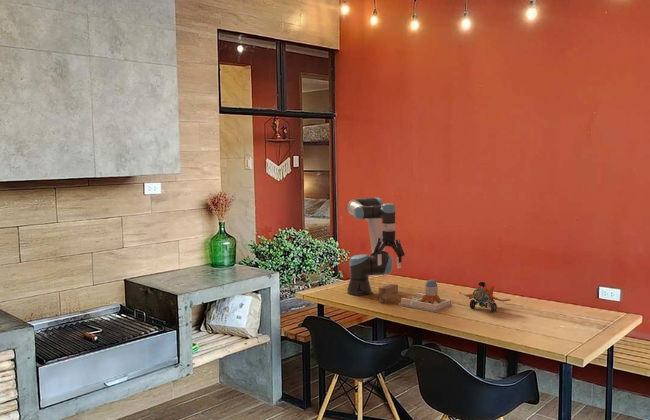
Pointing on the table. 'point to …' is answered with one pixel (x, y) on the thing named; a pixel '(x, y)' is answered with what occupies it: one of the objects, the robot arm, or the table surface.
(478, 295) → the toy airplane
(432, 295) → the toy rocket
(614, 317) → the table surface
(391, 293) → the wing block
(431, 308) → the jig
